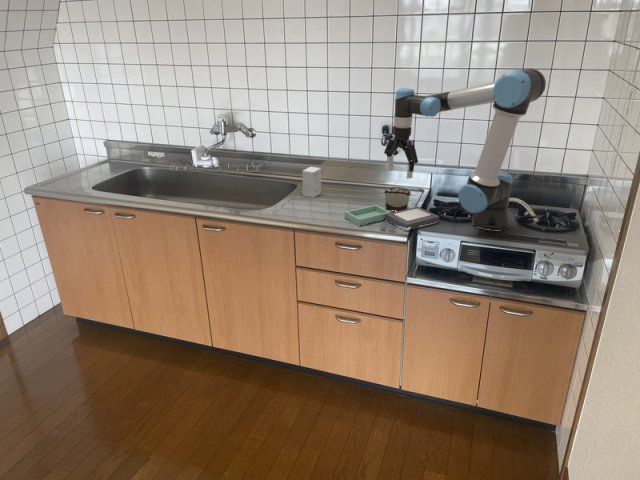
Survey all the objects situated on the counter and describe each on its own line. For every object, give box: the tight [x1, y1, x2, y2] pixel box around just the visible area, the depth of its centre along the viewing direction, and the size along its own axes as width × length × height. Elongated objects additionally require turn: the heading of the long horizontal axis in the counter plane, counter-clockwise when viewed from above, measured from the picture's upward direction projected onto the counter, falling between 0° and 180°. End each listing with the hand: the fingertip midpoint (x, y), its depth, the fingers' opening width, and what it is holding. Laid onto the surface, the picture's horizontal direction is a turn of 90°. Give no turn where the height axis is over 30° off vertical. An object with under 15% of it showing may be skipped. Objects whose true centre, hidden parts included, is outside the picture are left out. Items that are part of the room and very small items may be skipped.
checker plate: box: [394, 209, 431, 222], centre depth 211 cm, size 9×13×1 cm
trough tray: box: [344, 204, 392, 226], centre depth 216 cm, size 11×17×3 cm, turn 121°
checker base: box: [384, 206, 440, 231], centre depth 212 cm, size 14×18×4 cm
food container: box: [383, 186, 412, 211], centre depth 224 cm, size 12×6×10 cm, turn 74°
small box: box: [301, 166, 322, 199], centre depth 242 cm, size 8×6×13 cm
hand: (399, 174), depth 220 cm, fingers open, 13 cm apart
